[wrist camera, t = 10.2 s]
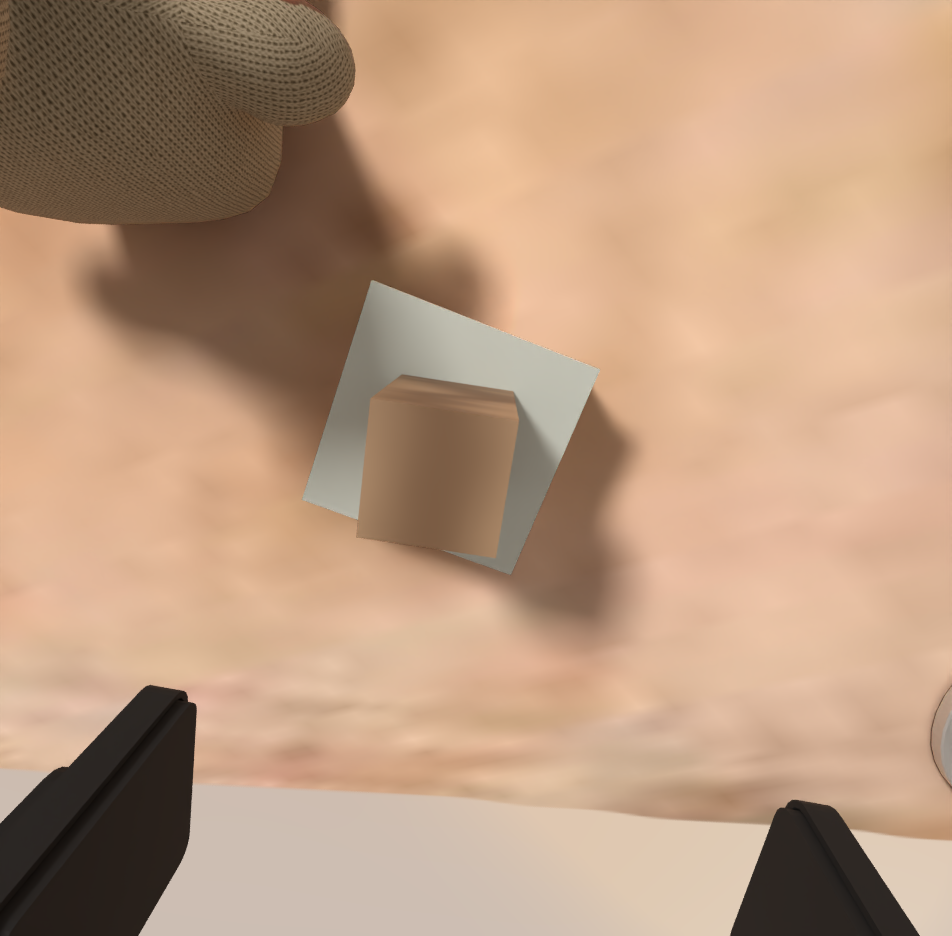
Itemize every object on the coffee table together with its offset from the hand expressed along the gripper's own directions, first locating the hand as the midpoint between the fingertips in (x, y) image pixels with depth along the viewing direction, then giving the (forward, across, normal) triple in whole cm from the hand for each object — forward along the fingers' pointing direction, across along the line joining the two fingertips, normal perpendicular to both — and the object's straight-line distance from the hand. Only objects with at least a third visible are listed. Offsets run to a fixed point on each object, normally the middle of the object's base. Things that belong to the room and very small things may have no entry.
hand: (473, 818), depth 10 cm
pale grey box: (+25, +3, -2) cm, 25 cm away
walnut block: (+19, +2, -2) cm, 19 cm away
